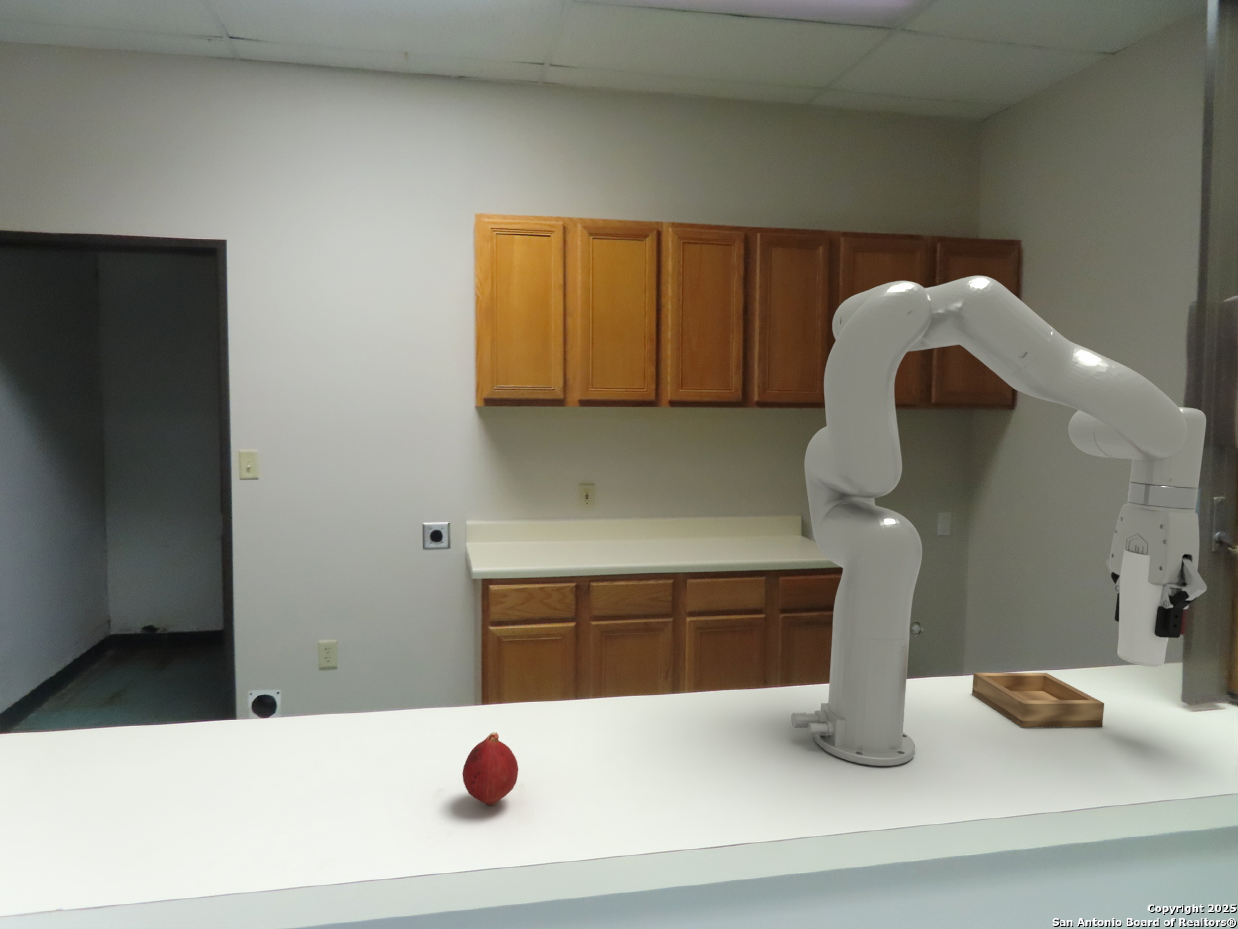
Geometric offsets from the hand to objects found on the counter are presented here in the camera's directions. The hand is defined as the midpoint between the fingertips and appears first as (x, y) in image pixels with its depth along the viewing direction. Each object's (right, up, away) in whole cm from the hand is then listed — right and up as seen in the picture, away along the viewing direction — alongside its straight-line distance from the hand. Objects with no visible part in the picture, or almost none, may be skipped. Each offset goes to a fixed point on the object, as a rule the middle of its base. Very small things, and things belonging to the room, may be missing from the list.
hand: (1146, 628), depth 102 cm
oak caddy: (-9, -15, +11) cm, 21 cm away
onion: (-86, -15, -21) cm, 90 cm away
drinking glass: (-1, -5, 0) cm, 5 cm away
